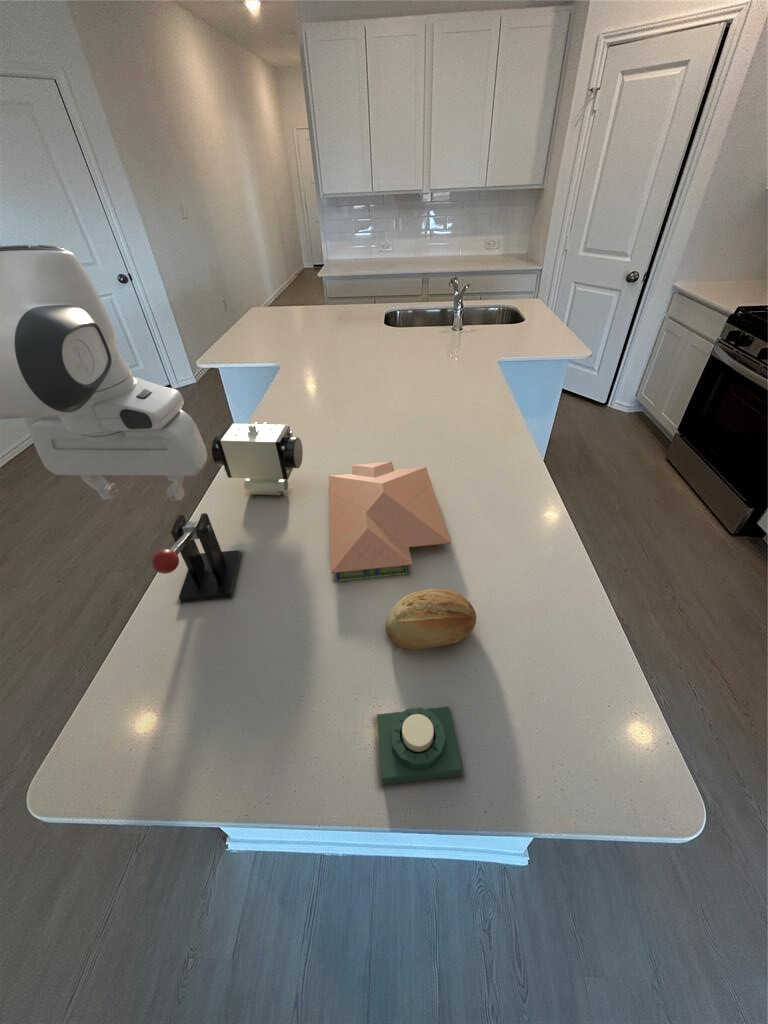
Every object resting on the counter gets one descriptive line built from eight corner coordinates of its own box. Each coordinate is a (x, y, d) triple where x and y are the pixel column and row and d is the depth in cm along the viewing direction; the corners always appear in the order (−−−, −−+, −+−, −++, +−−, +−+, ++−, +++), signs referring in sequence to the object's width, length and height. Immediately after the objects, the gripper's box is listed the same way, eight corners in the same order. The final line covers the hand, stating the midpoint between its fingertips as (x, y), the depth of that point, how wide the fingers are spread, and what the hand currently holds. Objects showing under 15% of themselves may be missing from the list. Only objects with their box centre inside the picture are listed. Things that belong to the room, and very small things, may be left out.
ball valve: (310, 481, 106) (299, 415, 94) (302, 503, 99) (288, 435, 88) (239, 479, 108) (219, 413, 96) (226, 500, 101) (203, 433, 90)
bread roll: (484, 650, 70) (491, 619, 64) (392, 666, 68) (391, 636, 63) (465, 602, 77) (469, 571, 72) (381, 616, 75) (379, 585, 70)
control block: (447, 713, 62) (449, 700, 59) (460, 776, 56) (463, 763, 53) (377, 721, 61) (376, 707, 59) (382, 785, 55) (381, 773, 53)
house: (423, 471, 107) (424, 443, 102) (454, 571, 82) (458, 540, 77) (329, 480, 106) (326, 451, 101) (332, 584, 81) (327, 553, 76)
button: (430, 718, 58) (430, 712, 57) (435, 750, 55) (436, 744, 54) (400, 721, 58) (400, 715, 57) (404, 753, 55) (404, 748, 54)
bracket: (231, 597, 79) (209, 542, 70) (180, 602, 79) (152, 547, 70) (241, 554, 88) (222, 500, 79) (195, 558, 87) (171, 504, 78)
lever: (176, 576, 63) (170, 554, 62) (150, 579, 63) (144, 556, 62) (207, 535, 78) (203, 516, 76) (187, 537, 77) (182, 518, 76)
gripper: (-4, 416, 50) (57, 511, 58) (171, 415, 48) (207, 512, 57) (34, 392, 55) (85, 483, 63) (193, 391, 53) (223, 484, 62)
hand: (144, 497), depth 60 cm, fingers open, 8 cm apart
